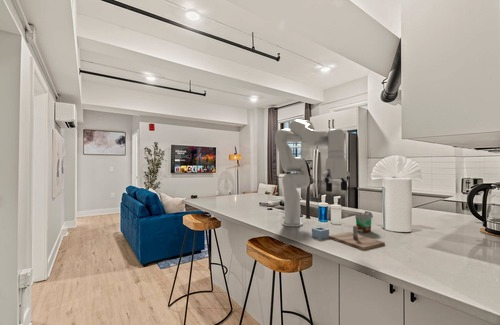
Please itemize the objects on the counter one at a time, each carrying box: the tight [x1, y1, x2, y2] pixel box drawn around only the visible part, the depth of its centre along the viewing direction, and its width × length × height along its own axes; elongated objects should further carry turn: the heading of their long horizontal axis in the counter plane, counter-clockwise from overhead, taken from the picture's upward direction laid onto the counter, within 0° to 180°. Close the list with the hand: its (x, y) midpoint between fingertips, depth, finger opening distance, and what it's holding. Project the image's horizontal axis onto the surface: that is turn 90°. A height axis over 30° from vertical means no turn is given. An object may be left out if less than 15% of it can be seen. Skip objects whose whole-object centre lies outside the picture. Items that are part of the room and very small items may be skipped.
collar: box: [311, 226, 330, 240], centre depth 125 cm, size 6×6×4 cm
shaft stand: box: [328, 225, 386, 251], centre depth 117 cm, size 20×14×7 cm
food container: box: [354, 210, 374, 234], centre depth 133 cm, size 12×6×10 cm, turn 131°
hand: (336, 190), depth 118 cm, fingers open, 9 cm apart
